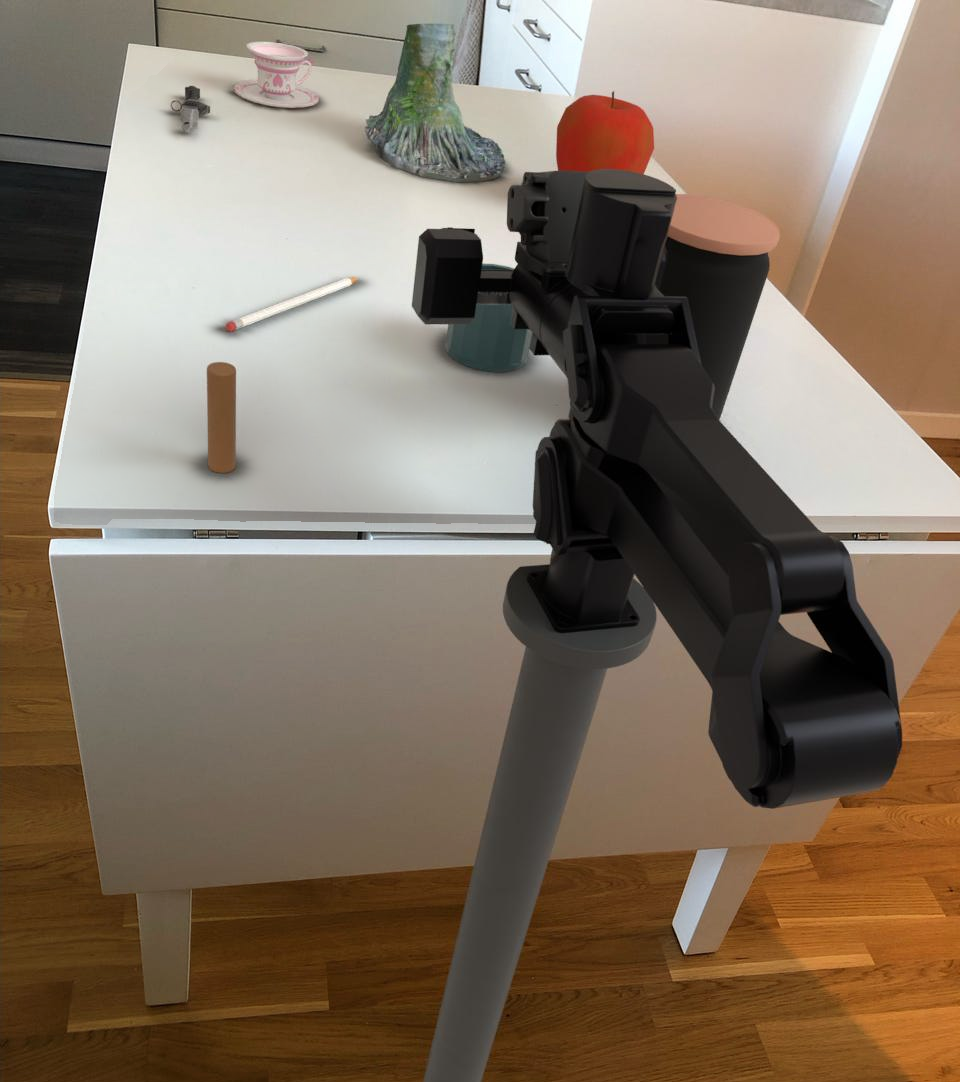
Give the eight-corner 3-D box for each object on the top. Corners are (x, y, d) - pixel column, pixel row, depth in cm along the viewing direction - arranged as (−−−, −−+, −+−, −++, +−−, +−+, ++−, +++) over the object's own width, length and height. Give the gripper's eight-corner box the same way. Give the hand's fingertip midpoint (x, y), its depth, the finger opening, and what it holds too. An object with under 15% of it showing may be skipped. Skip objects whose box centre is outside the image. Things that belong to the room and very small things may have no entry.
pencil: (225, 329, 97) (225, 322, 97) (356, 279, 110) (356, 272, 109) (231, 332, 97) (231, 325, 96) (362, 282, 110) (363, 275, 109)
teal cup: (538, 371, 100) (552, 300, 96) (459, 372, 98) (470, 299, 93) (511, 333, 106) (523, 264, 101) (435, 333, 103) (444, 262, 99)
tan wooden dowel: (237, 472, 80) (238, 374, 75) (209, 474, 79) (208, 375, 74) (233, 458, 81) (233, 361, 76) (206, 459, 81) (204, 361, 76)
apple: (566, 227, 131) (591, 103, 122) (527, 191, 139) (548, 72, 130) (653, 228, 136) (683, 109, 127) (611, 193, 144) (636, 79, 135)
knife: (208, 126, 133) (166, 121, 132) (208, 143, 135) (166, 138, 134) (211, 86, 147) (173, 81, 146) (211, 101, 149) (173, 97, 147)
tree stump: (410, 189, 134) (401, 24, 125) (342, 174, 149) (330, 26, 140) (532, 177, 142) (532, 20, 134) (456, 164, 157) (451, 22, 148)
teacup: (235, 104, 149) (235, 55, 145) (232, 80, 158) (232, 33, 154) (322, 113, 152) (325, 65, 148) (315, 89, 160) (317, 43, 157)
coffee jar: (739, 438, 96) (808, 238, 85) (651, 459, 91) (713, 249, 79) (661, 382, 102) (716, 189, 91) (574, 400, 97) (621, 197, 85)
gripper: (731, 207, 71) (634, 132, 82) (465, 197, 65) (399, 118, 76) (687, 362, 78) (603, 274, 89) (443, 366, 72) (385, 271, 83)
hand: (504, 235), depth 84 cm, fingers open, 9 cm apart
